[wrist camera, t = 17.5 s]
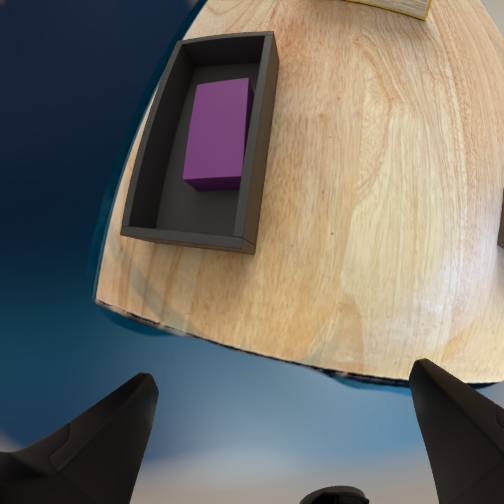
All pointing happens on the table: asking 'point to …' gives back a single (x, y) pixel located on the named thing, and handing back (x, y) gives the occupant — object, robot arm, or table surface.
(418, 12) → the candy box
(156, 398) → the robot arm
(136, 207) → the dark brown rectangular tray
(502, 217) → the walnut block
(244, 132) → the purple block
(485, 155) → the table surface
